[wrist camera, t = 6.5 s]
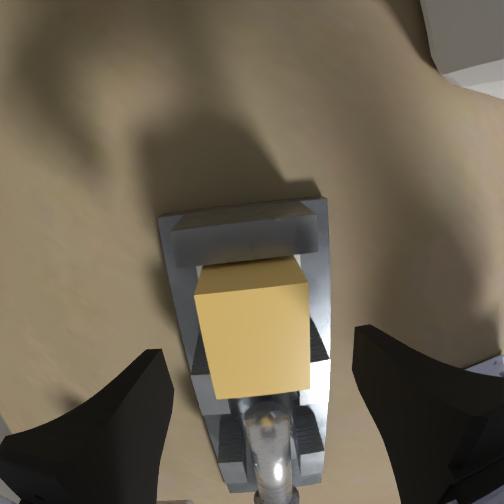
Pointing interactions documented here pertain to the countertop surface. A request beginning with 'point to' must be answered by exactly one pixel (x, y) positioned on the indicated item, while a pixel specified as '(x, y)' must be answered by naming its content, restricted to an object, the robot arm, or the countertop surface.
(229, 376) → the block
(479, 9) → the soap bottle
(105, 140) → the countertop surface
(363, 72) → the countertop surface
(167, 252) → the metal support fixture
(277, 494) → the shaft
